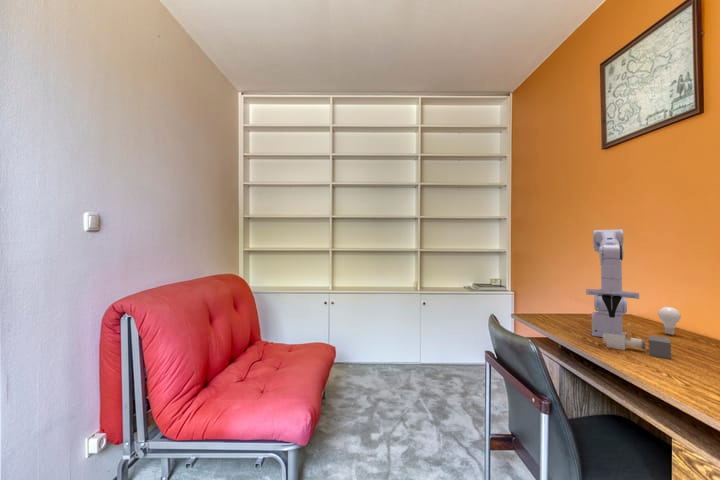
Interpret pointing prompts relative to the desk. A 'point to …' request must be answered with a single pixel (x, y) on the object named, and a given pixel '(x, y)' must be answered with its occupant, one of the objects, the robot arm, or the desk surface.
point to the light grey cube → (615, 339)
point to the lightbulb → (669, 318)
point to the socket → (659, 347)
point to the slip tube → (630, 339)
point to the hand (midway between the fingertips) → (612, 317)
